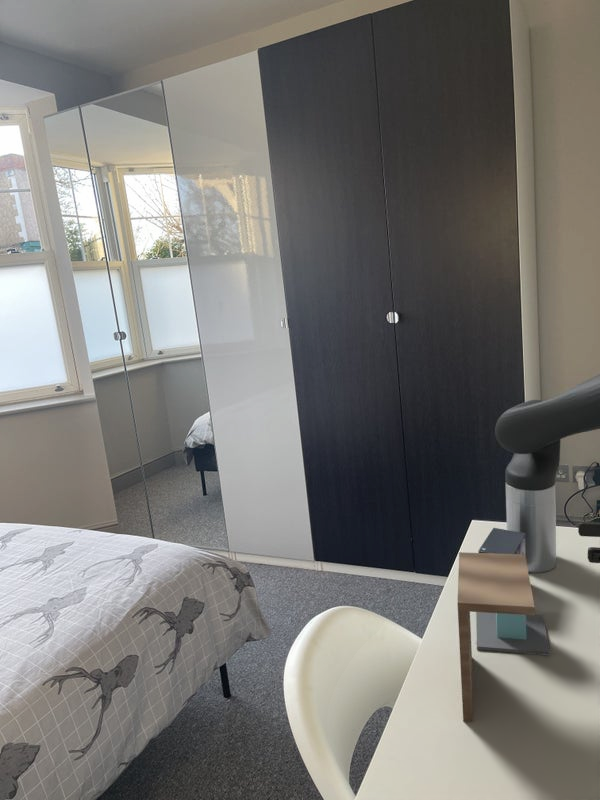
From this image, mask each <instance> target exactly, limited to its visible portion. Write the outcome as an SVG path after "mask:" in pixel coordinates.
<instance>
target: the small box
mask: <svg viewBox="0 0 600 800" xmlns="http://www.w3.org/2000/svg"><path fill="white" fill-rule="evenodd" d="M477 551H478V552H477V553H495V554H525V533H522V532H516V531H509V530H507V529H504V528H498V527H493V528H492V529H491V531H490V532H489V534H488V535H487V537H486V538H485V539H484V541H483V543H482V545H481V546H480V547H479V548H478V550H477Z"/></svg>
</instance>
